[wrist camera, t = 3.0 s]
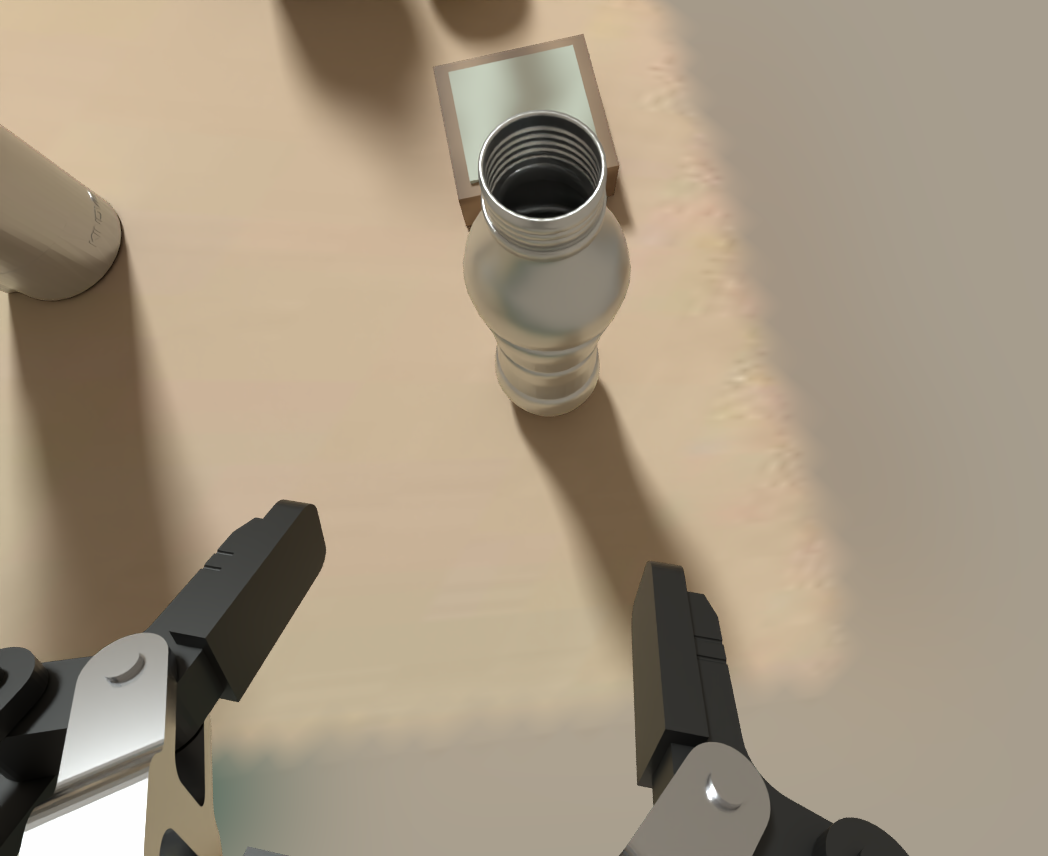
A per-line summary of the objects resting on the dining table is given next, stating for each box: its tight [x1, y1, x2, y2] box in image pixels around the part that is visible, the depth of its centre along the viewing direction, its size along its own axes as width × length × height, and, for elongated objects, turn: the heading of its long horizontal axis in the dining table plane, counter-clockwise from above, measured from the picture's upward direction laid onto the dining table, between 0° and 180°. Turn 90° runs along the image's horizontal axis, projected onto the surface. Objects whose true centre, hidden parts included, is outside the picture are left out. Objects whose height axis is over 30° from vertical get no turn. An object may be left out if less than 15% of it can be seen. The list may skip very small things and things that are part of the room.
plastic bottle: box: [463, 110, 631, 417], centre depth 23 cm, size 6×7×20 cm
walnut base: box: [433, 34, 619, 226], centre depth 35 cm, size 11×11×3 cm
